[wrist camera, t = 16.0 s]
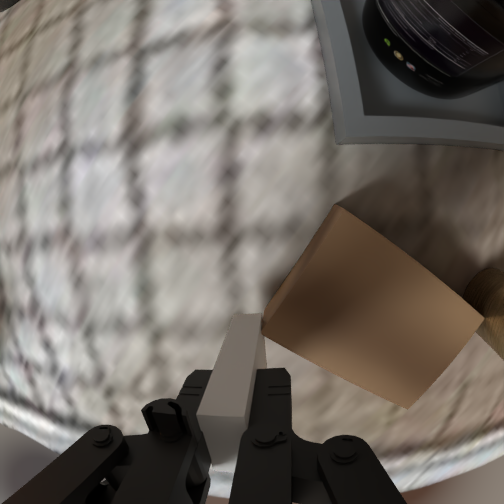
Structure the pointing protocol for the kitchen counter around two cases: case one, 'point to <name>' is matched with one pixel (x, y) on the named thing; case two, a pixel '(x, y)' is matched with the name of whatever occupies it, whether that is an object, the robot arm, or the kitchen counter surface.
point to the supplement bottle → (438, 43)
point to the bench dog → (489, 306)
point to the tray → (394, 93)
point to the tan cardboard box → (369, 312)
